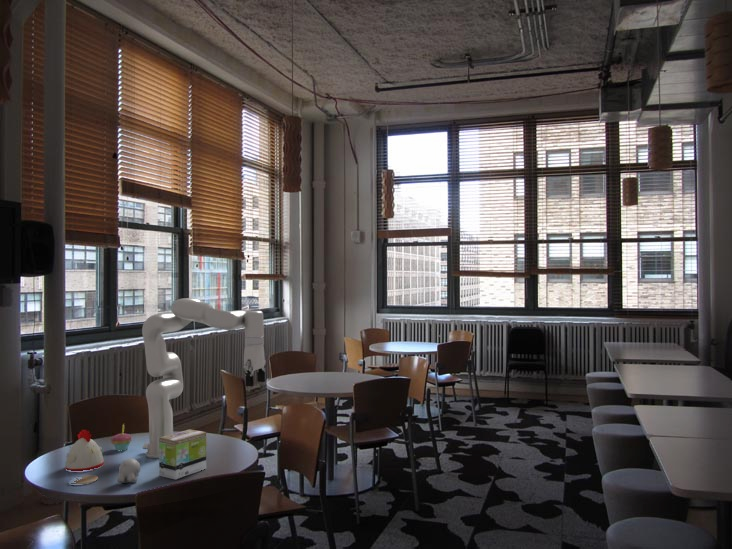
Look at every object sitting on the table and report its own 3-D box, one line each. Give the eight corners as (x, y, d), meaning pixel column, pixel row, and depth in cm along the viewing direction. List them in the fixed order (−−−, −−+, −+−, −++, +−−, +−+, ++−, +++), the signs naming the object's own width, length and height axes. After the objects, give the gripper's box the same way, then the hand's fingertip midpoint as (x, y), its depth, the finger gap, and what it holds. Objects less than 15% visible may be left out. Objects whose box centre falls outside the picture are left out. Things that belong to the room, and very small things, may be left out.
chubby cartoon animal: (145, 484, 223) (148, 460, 226) (133, 482, 212) (136, 457, 215) (126, 484, 223) (130, 460, 227) (113, 482, 212) (117, 457, 216)
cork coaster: (61, 484, 217) (61, 483, 217) (82, 475, 227) (82, 474, 227) (84, 486, 214) (84, 485, 214) (104, 477, 224) (104, 476, 224)
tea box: (176, 480, 219) (175, 440, 219) (158, 476, 224) (157, 437, 224) (207, 469, 231) (206, 431, 231) (189, 465, 237) (188, 428, 237)
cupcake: (136, 448, 262) (135, 421, 262) (119, 453, 255) (118, 425, 255) (123, 446, 267) (123, 419, 267) (106, 451, 259) (106, 423, 260)
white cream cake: (78, 475, 228) (77, 436, 228) (58, 469, 235) (57, 431, 235) (110, 465, 239) (110, 428, 239) (90, 460, 247) (90, 424, 247)
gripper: (256, 339, 249) (257, 380, 249) (235, 343, 233) (236, 387, 233) (272, 339, 247) (273, 380, 247) (252, 343, 231) (253, 388, 230)
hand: (255, 383), depth 240 cm, fingers open, 9 cm apart
